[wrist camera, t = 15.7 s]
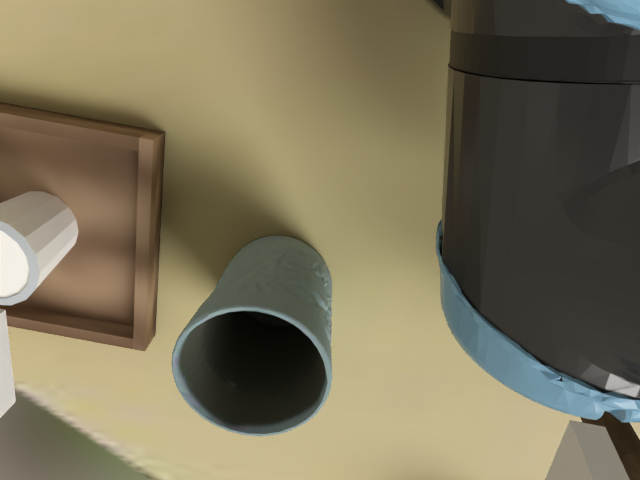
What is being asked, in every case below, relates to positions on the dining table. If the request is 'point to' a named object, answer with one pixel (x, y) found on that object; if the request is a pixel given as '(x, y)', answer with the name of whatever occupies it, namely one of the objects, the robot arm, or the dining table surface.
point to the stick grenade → (622, 442)
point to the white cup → (32, 242)
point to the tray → (90, 222)
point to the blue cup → (260, 341)
